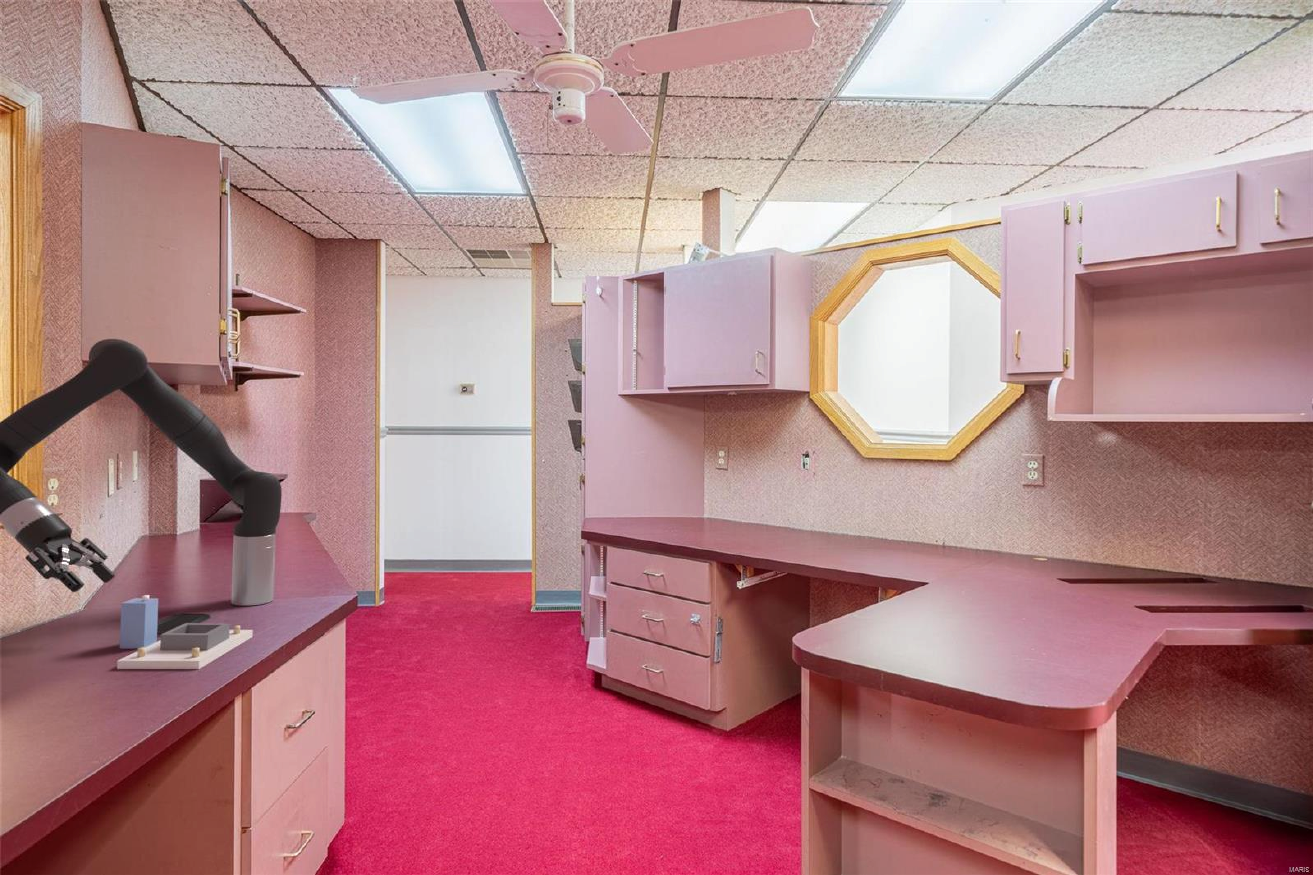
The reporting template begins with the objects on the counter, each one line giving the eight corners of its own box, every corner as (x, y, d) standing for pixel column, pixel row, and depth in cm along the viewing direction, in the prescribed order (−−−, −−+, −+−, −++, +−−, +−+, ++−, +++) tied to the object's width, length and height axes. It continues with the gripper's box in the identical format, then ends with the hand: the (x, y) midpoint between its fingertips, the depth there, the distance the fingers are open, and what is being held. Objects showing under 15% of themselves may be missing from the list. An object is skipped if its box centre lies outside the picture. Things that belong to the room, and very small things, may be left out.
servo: (133, 642, 138) (135, 593, 138) (156, 642, 139) (158, 593, 139) (119, 648, 135) (121, 598, 135) (144, 648, 135) (145, 598, 135)
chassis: (182, 636, 143) (183, 615, 143) (252, 636, 145) (253, 615, 145) (117, 668, 123) (118, 644, 123) (198, 669, 125) (199, 644, 125)
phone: (212, 613, 158) (174, 632, 144) (212, 618, 158) (174, 637, 144) (176, 613, 158) (134, 631, 143) (176, 618, 158) (133, 637, 143)
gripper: (20, 517, 128) (83, 578, 129) (77, 508, 142) (133, 564, 143) (-11, 544, 127) (52, 606, 129) (49, 533, 142) (106, 589, 143)
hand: (95, 584), depth 136 cm, fingers open, 8 cm apart
